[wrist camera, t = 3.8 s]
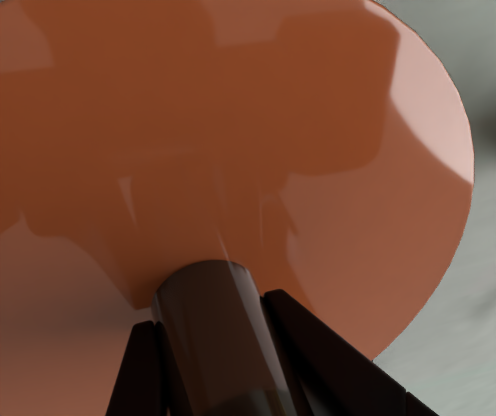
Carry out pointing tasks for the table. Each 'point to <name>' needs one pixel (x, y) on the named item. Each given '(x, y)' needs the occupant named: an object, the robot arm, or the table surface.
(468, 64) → the table surface
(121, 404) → the robot arm
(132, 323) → the pot lid
